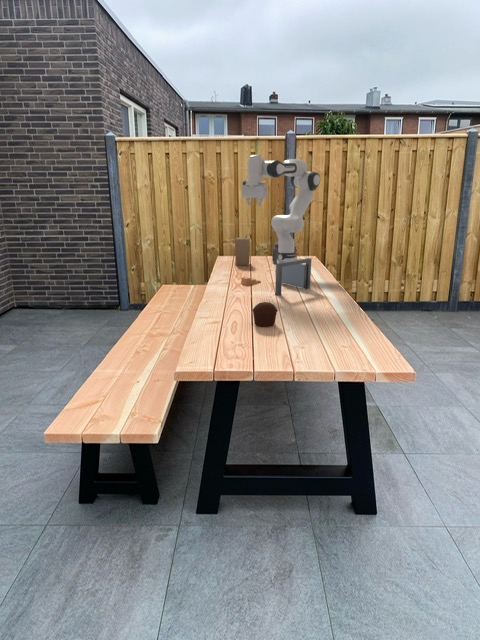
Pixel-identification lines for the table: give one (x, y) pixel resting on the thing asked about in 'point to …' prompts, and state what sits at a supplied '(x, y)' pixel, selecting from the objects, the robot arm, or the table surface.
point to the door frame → (288, 263)
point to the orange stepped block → (249, 281)
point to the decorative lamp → (275, 252)
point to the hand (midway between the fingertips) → (254, 205)
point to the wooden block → (242, 251)
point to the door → (294, 274)
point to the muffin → (264, 314)
